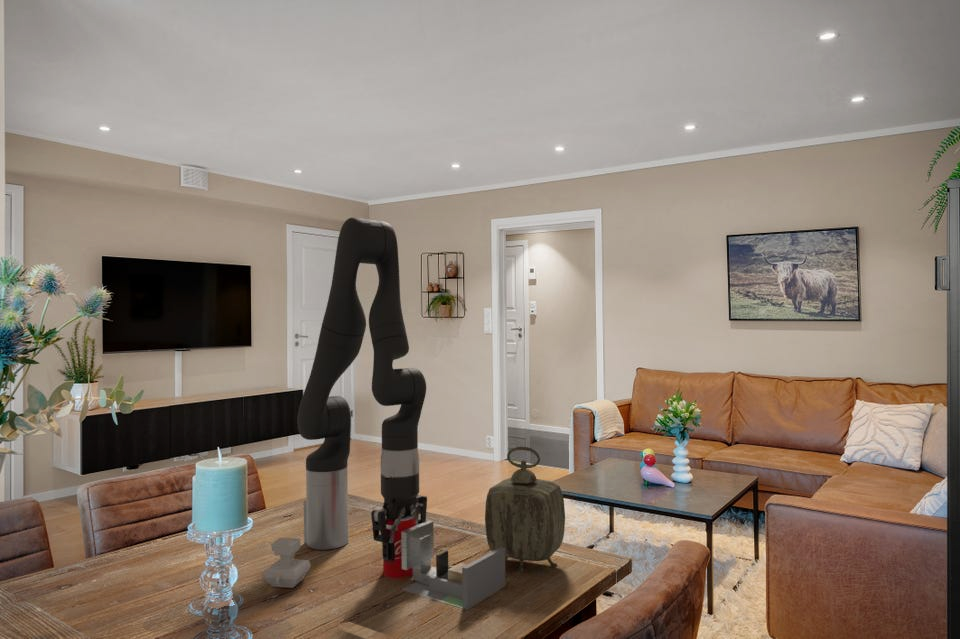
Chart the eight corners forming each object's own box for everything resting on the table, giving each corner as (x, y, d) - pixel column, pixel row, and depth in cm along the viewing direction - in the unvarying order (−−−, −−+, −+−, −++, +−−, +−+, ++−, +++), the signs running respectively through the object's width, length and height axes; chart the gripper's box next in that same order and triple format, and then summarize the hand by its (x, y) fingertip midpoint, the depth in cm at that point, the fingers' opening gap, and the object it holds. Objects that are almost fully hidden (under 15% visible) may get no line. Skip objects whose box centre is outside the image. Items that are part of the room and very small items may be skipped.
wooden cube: (448, 591, 119) (447, 569, 119) (461, 584, 122) (460, 562, 122) (465, 596, 116) (465, 574, 116) (478, 589, 120) (478, 567, 120)
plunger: (402, 583, 122) (401, 531, 122) (429, 569, 129) (428, 520, 129) (431, 591, 118) (430, 538, 118) (457, 577, 125) (456, 526, 125)
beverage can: (409, 584, 125) (410, 521, 124) (378, 580, 126) (379, 518, 126) (418, 571, 131) (420, 511, 130) (389, 567, 132) (390, 508, 132)
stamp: (293, 595, 121) (292, 549, 121) (260, 593, 122) (259, 548, 122) (313, 576, 130) (313, 533, 130) (282, 574, 131) (281, 532, 131)
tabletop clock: (565, 569, 131) (564, 445, 131) (551, 586, 123) (549, 454, 123) (499, 559, 138) (498, 440, 138) (481, 574, 129) (480, 448, 129)
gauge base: (401, 596, 120) (400, 551, 120) (441, 574, 130) (441, 533, 130) (467, 616, 111) (466, 568, 111) (505, 591, 121) (505, 547, 121)
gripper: (409, 461, 136) (410, 541, 136) (359, 475, 124) (360, 563, 124) (437, 465, 132) (438, 548, 132) (389, 481, 120) (389, 572, 120)
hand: (400, 555), depth 128 cm, fingers closed on beverage can, 6 cm apart
